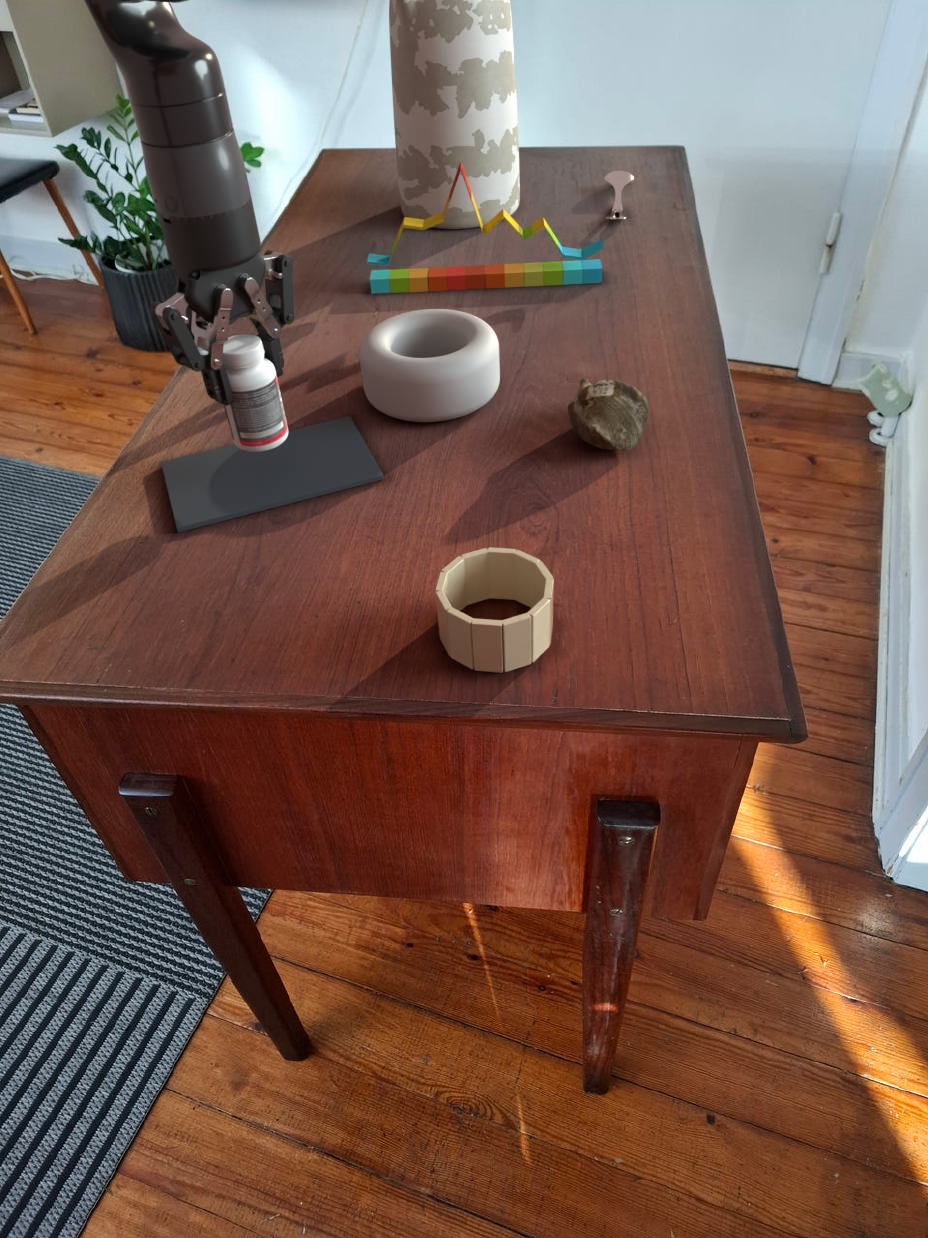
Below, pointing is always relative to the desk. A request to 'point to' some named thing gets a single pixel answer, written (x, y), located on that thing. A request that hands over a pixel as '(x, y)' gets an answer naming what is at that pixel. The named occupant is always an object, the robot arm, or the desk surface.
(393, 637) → the desk surface
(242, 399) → the pill bottle
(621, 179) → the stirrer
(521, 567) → the bracelet
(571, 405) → the fossilized seashell
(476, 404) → the fat ring
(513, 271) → the chart
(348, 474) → the mat
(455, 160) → the vase
